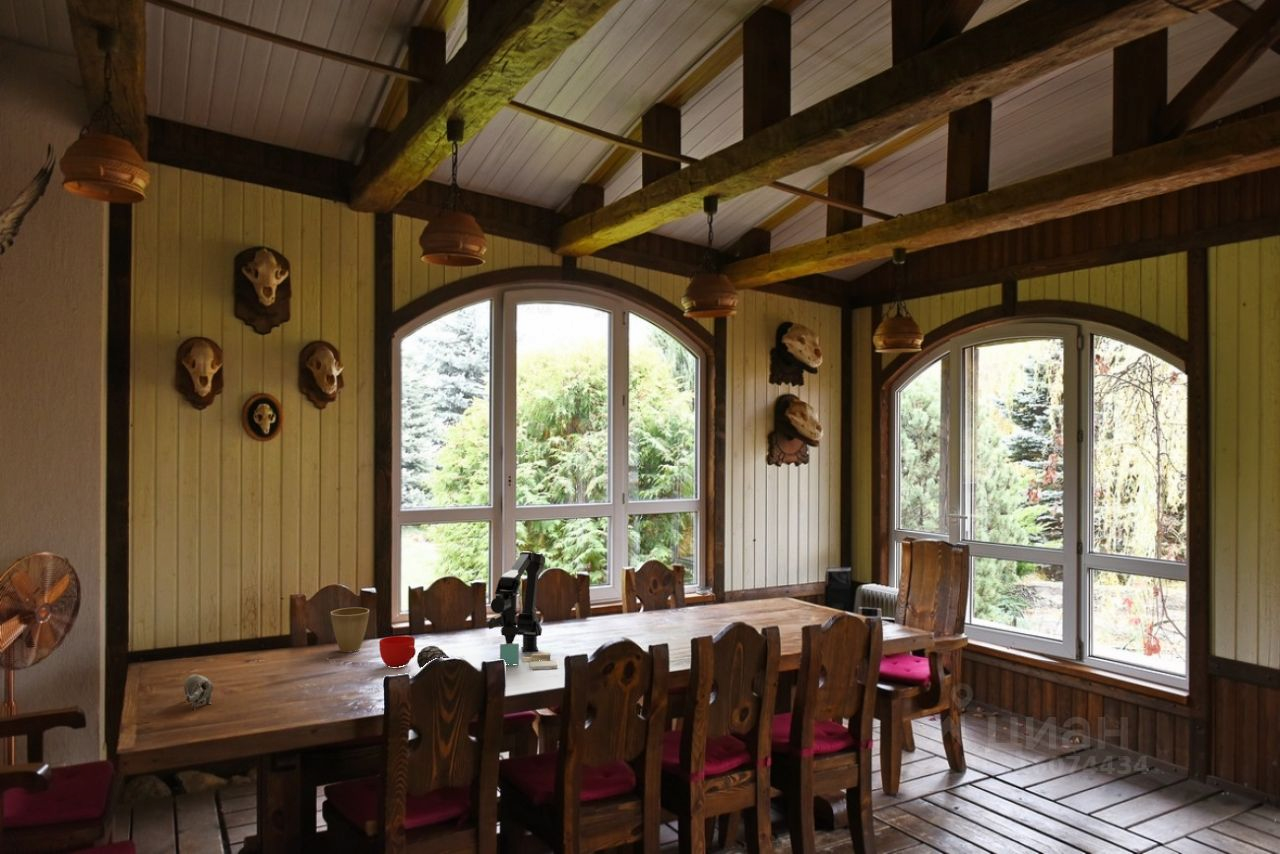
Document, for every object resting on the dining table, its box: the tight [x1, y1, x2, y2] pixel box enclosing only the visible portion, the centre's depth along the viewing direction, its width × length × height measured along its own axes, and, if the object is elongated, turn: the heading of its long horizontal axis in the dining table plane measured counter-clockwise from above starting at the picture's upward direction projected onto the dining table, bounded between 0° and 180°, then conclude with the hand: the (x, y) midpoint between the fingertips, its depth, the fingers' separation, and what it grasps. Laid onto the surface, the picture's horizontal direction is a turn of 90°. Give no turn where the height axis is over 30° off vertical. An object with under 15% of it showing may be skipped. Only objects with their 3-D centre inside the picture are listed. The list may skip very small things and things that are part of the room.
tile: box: [499, 642, 520, 666], centre depth 315 cm, size 2×7×8 cm, turn 102°
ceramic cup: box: [378, 635, 417, 667], centre depth 312 cm, size 13×17×10 cm
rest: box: [529, 660, 558, 670], centre depth 313 cm, size 7×10×1 cm
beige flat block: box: [522, 652, 551, 663], centre depth 322 cm, size 5×10×2 cm, turn 102°
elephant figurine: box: [183, 674, 214, 710], centre depth 265 cm, size 8×14×15 cm
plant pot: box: [330, 607, 370, 653], centre depth 336 cm, size 15×15×16 cm
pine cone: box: [416, 645, 450, 669], centre depth 301 cm, size 10×18×10 cm, turn 44°
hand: (508, 648), depth 319 cm, fingers closed
